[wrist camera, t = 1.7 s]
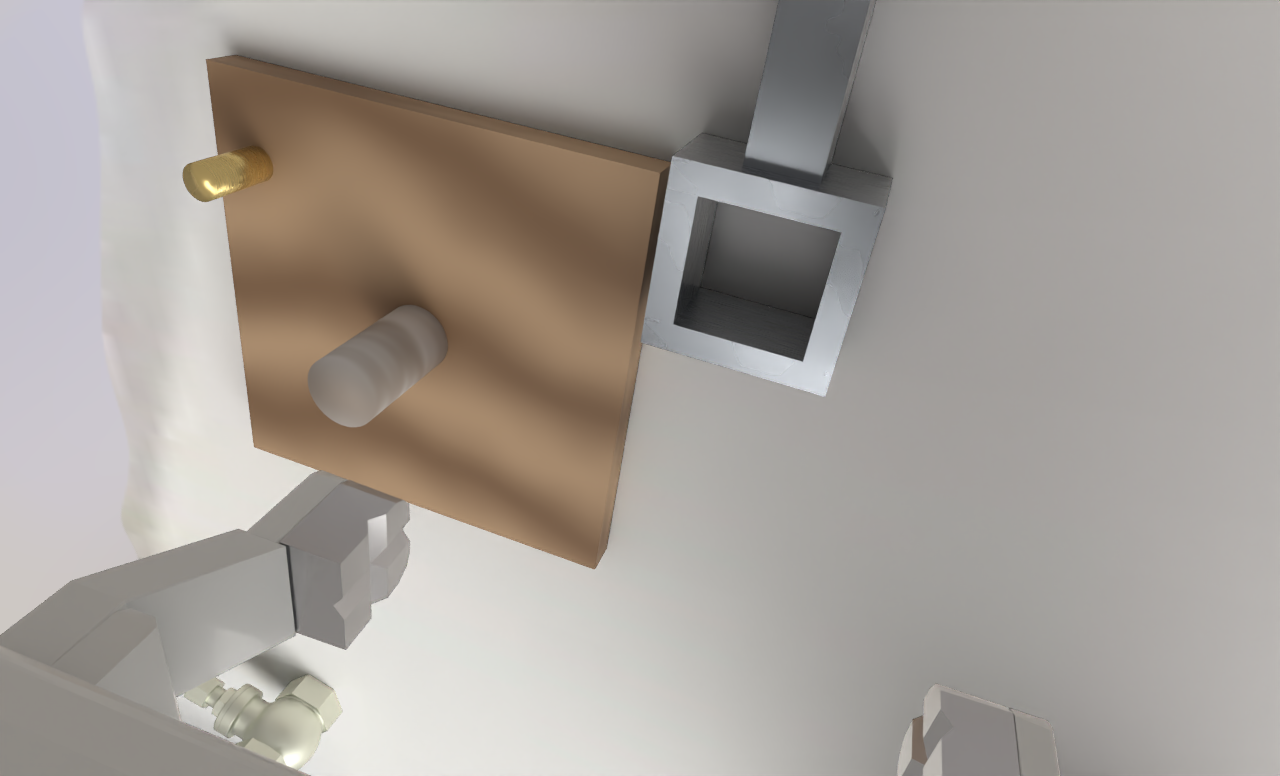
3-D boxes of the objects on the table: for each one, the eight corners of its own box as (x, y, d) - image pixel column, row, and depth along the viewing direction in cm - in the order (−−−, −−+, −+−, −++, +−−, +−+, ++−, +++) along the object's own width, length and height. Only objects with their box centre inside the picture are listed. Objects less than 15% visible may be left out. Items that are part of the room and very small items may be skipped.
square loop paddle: (837, 351, 29) (825, 396, 26) (669, 303, 30) (640, 342, 27) (972, -71, 22) (975, -74, 19) (747, -110, 23) (719, -118, 20)
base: (606, 548, 37) (548, 651, 32) (275, 431, 41) (172, 506, 35) (673, 163, 28) (606, 215, 22) (235, 55, 31) (87, 78, 26)
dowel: (299, 176, 33) (217, 206, 29) (271, 168, 33) (185, 196, 30) (297, 142, 32) (212, 168, 29) (268, 134, 33) (180, 158, 29)
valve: (355, 683, 49) (191, 584, 50) (281, 776, 44) (97, 663, 45) (337, 737, 53) (184, 645, 54) (267, 830, 47) (97, 725, 48)
